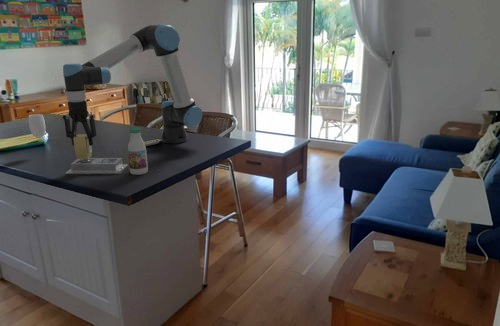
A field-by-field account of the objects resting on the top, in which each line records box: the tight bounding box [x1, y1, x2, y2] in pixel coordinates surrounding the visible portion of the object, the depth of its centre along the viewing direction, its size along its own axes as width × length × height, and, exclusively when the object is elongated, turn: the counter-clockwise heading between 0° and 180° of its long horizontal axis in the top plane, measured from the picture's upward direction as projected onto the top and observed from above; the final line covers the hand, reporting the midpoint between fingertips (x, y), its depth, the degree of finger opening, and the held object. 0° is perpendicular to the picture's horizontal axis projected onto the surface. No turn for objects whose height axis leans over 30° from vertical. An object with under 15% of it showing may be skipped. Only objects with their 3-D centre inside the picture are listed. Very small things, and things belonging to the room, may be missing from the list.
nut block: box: [74, 133, 93, 160], centre depth 180 cm, size 5×5×10 cm
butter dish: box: [65, 157, 129, 175], centre depth 182 cm, size 24×12×4 cm, turn 89°
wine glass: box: [28, 113, 46, 139], centre depth 202 cm, size 7×7×21 cm
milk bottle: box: [127, 127, 149, 176], centre depth 176 cm, size 8×8×20 cm
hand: (83, 152), depth 181 cm, fingers closed on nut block, 5 cm apart
